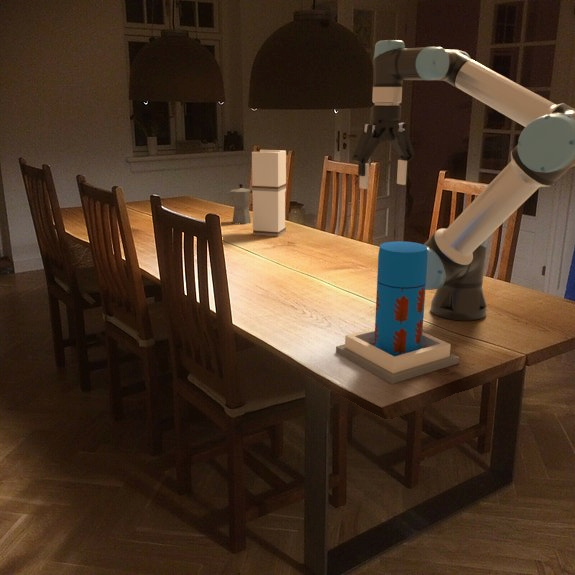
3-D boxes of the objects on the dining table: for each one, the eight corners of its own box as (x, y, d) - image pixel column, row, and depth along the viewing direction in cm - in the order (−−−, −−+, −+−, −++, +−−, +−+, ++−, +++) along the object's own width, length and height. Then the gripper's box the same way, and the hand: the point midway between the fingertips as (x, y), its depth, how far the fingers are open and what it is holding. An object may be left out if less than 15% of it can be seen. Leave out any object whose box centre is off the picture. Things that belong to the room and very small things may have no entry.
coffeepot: (232, 225, 290) (231, 186, 284) (224, 221, 298) (223, 183, 292) (262, 222, 296) (262, 184, 291) (254, 218, 304) (254, 181, 299)
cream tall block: (285, 231, 277) (286, 150, 267) (278, 236, 267) (278, 152, 257) (261, 230, 280) (260, 149, 270) (253, 235, 271) (251, 152, 260)
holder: (399, 335, 160) (400, 319, 159) (458, 363, 144) (460, 344, 143) (335, 352, 150) (336, 334, 149) (392, 384, 134) (393, 364, 133)
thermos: (429, 350, 147) (437, 246, 140) (405, 364, 140) (412, 255, 132) (390, 338, 154) (395, 239, 147) (364, 351, 146) (369, 247, 139)
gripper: (410, 103, 173) (406, 181, 180) (340, 104, 160) (338, 188, 166) (431, 104, 167) (425, 184, 174) (359, 105, 154) (356, 192, 160)
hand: (382, 186), depth 170 cm, fingers open, 13 cm apart
